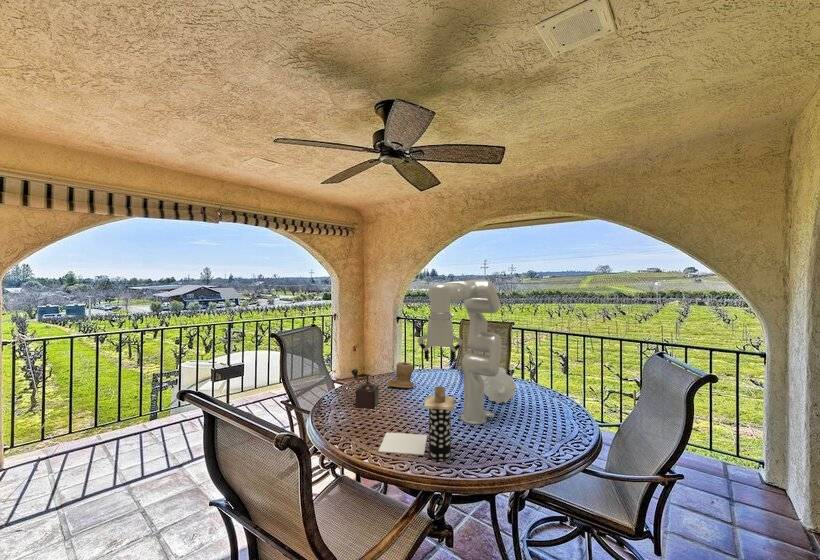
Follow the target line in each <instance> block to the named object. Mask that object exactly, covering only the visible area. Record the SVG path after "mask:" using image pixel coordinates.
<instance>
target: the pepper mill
mask: <svg viewBox="0 0 820 560" xmlns="http://www.w3.org/2000/svg"><path fill="white" fill-rule="evenodd" d="M358 373H359V370H358V368H353V369H352V370H351V375H352V377H353V378H354V380H355V381H365V380H366V383H365V384H363V383H362V384H360V385H359V386H358V387H357V389H356V390H355V409H361V408H366V409H365V410H374V409H376V408H377V406H378V405H377V404H379V401H380V399H379V395H380V394H379V393H380V392H379V391H380V390H379V388H380V387H379V386H380V385H378V384H377V385H375V384H373V383H371V382H370V381H369V378H370V377H369V374H366V375H365V376H366V377H362V378H358V377H359V375H358ZM375 407H376V408H375Z"/></svg>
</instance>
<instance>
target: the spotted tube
mask: <svg viewBox="0 0 820 560" xmlns="http://www.w3.org/2000/svg"><path fill="white" fill-rule="evenodd" d="M451 411H452V410H444V409H428V456H429V458H430V459H432V460H434V461H436V460H437V461H438V462H443V461H447V460H449V459H450V458H451V451H452V448H451V443H452V442H451V441H452V439H451V435H452V433H451V426H452V425H451V422H452V421H451V420H452V419H451V418H452V417H451V415H452V414H451V413H452V412H451Z"/></svg>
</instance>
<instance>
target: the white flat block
mask: <svg viewBox="0 0 820 560" xmlns="http://www.w3.org/2000/svg"><path fill="white" fill-rule="evenodd" d="M427 438H428V434H418V433H404V432H403V433H400V432H386V433H385V434H384V437H383V439H382V441H381V444H380V445H379V448H378V450H377V451H378V453H387V454H401V455H411V456H413V455H416V456H425V452H426V445H427Z"/></svg>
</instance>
